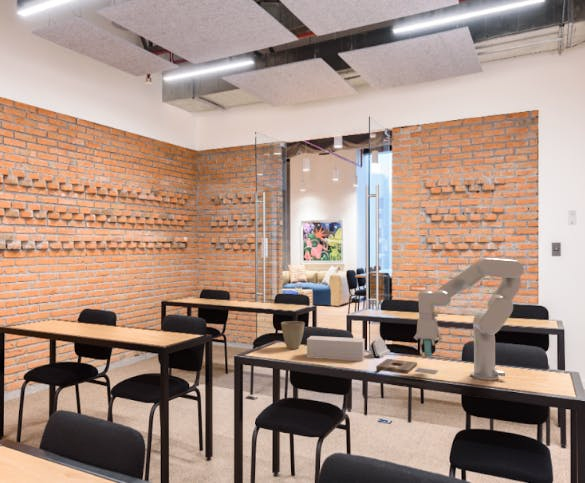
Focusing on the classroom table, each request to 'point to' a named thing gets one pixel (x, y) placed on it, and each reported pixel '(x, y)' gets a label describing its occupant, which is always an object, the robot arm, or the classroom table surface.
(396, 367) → the hole board
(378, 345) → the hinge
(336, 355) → the long grey foam brick
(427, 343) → the peg
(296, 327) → the plant pot
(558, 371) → the classroom table surface
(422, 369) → the plate
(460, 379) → the classroom table surface
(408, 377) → the classroom table surface
